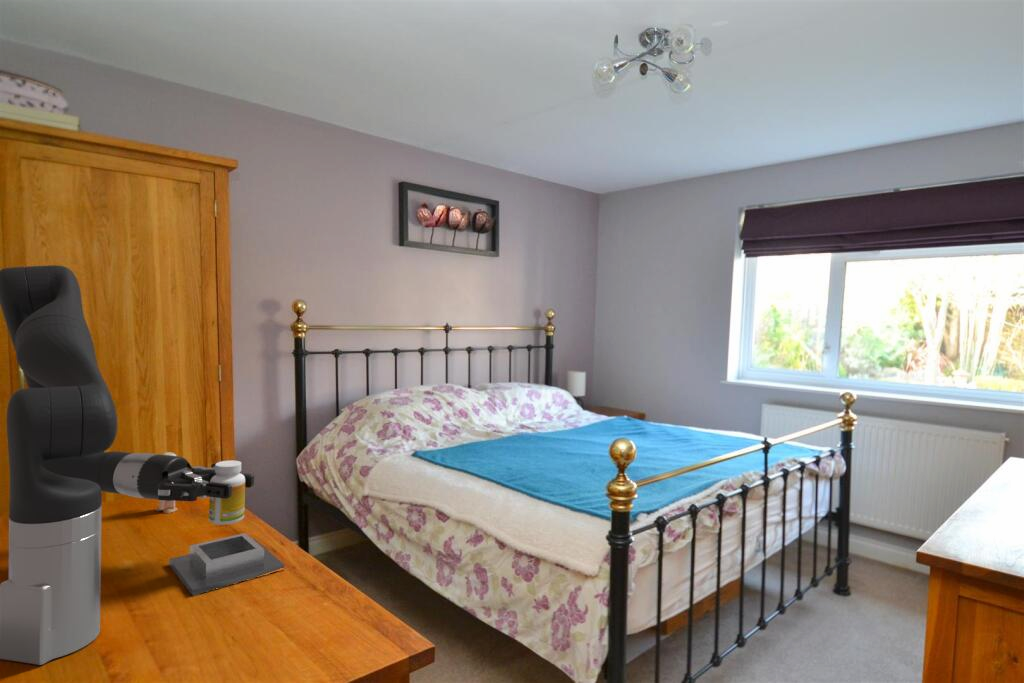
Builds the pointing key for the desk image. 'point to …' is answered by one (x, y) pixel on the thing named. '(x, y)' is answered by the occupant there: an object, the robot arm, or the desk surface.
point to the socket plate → (223, 563)
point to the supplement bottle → (233, 506)
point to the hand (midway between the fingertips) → (241, 486)
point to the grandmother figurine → (167, 505)
